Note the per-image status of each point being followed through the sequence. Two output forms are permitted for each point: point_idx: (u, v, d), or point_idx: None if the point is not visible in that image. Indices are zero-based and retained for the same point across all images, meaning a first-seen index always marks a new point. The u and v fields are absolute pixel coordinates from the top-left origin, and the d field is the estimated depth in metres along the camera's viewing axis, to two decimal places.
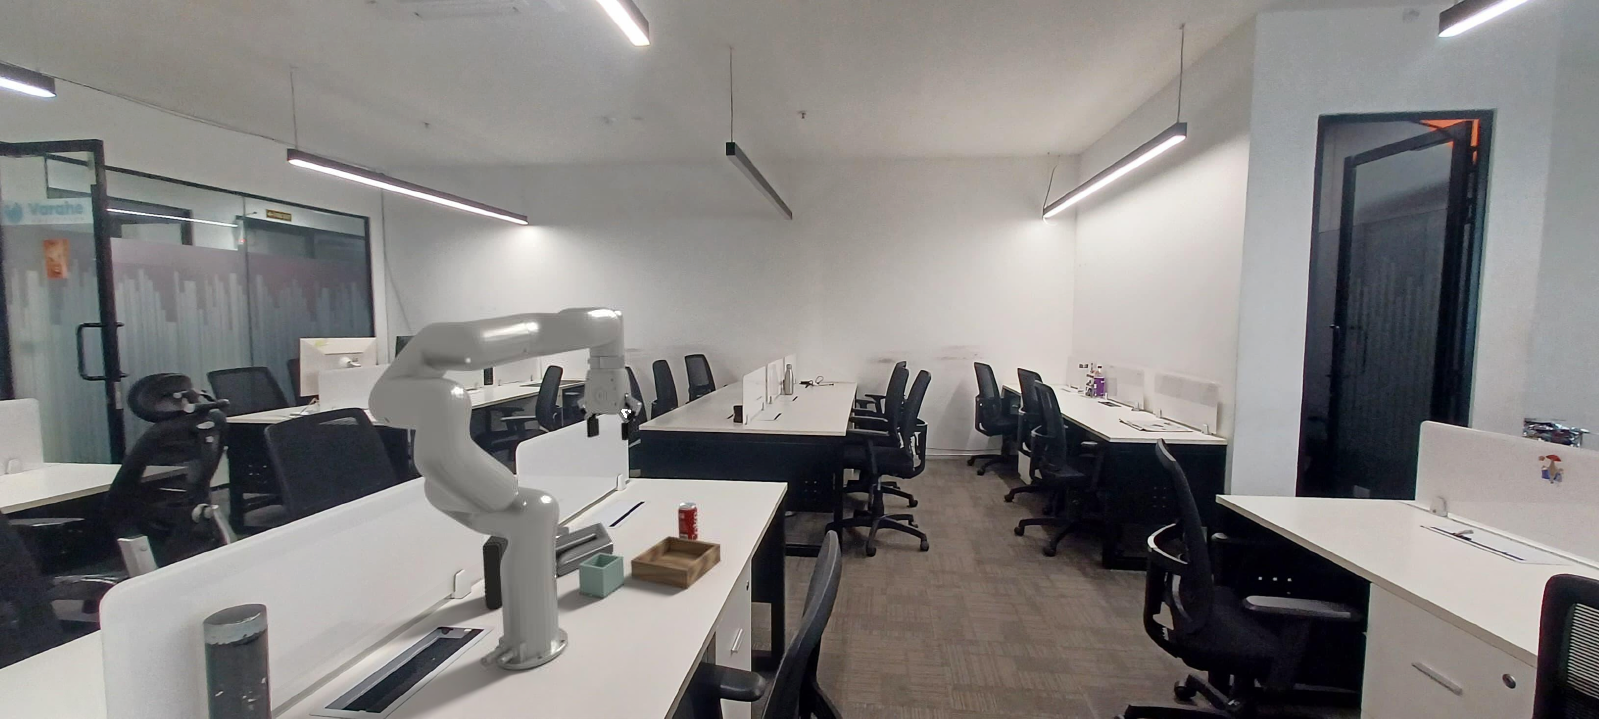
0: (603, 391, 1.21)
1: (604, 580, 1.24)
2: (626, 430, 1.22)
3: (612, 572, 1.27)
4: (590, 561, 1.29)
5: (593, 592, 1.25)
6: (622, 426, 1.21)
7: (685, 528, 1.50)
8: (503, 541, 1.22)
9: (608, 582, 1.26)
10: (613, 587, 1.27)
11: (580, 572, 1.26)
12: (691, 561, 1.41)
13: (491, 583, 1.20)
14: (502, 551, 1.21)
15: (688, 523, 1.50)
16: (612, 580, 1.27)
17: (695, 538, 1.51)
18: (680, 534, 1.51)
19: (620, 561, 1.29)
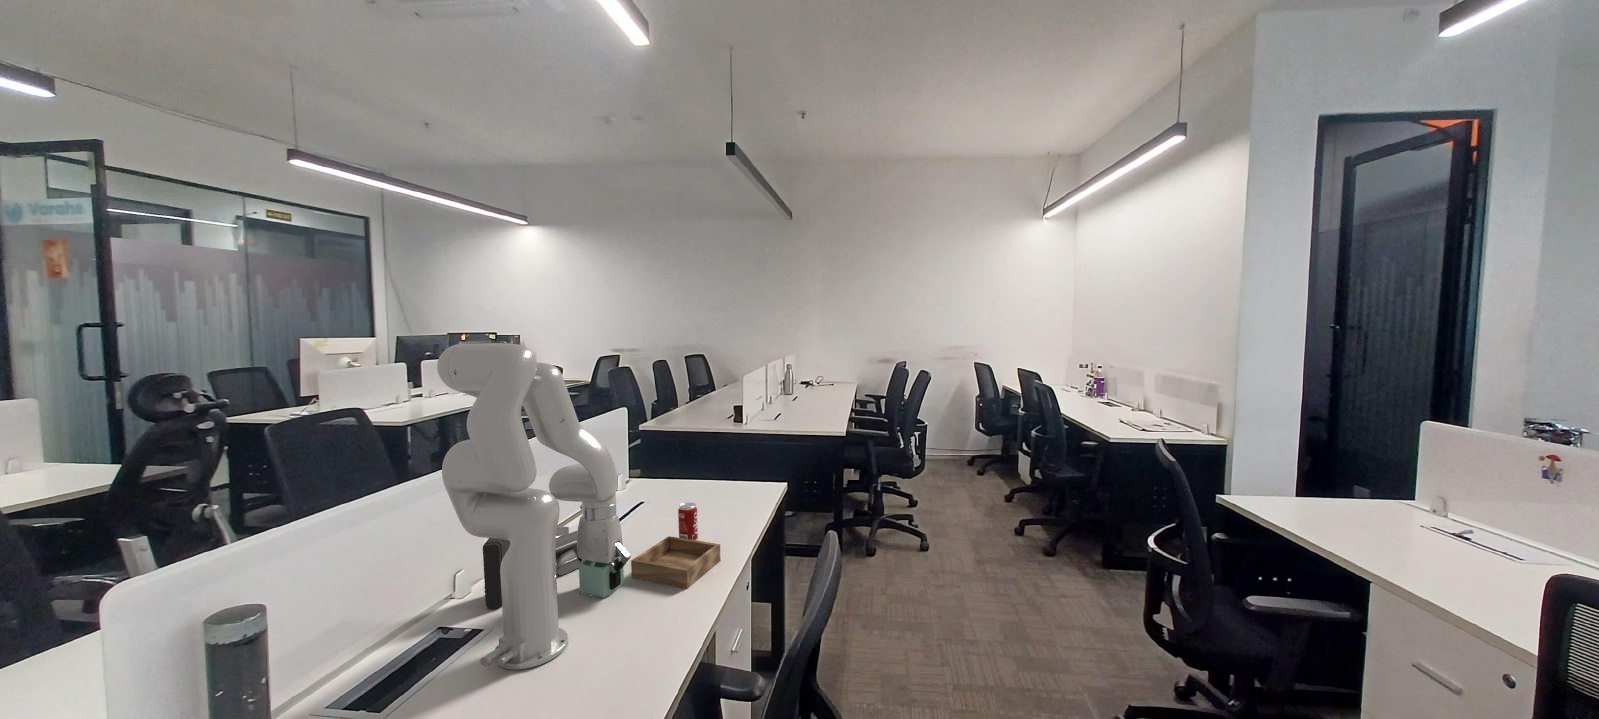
0: (595, 540, 1.25)
1: (604, 580, 1.24)
2: (614, 580, 1.26)
3: None
4: (590, 561, 1.29)
5: (593, 592, 1.25)
6: (610, 576, 1.26)
7: (685, 528, 1.50)
8: (503, 541, 1.22)
9: (608, 582, 1.26)
10: None
11: (580, 572, 1.26)
12: (691, 561, 1.41)
13: (491, 583, 1.20)
14: (502, 551, 1.21)
15: (688, 523, 1.50)
16: None
17: (695, 538, 1.51)
18: (680, 534, 1.51)
19: None
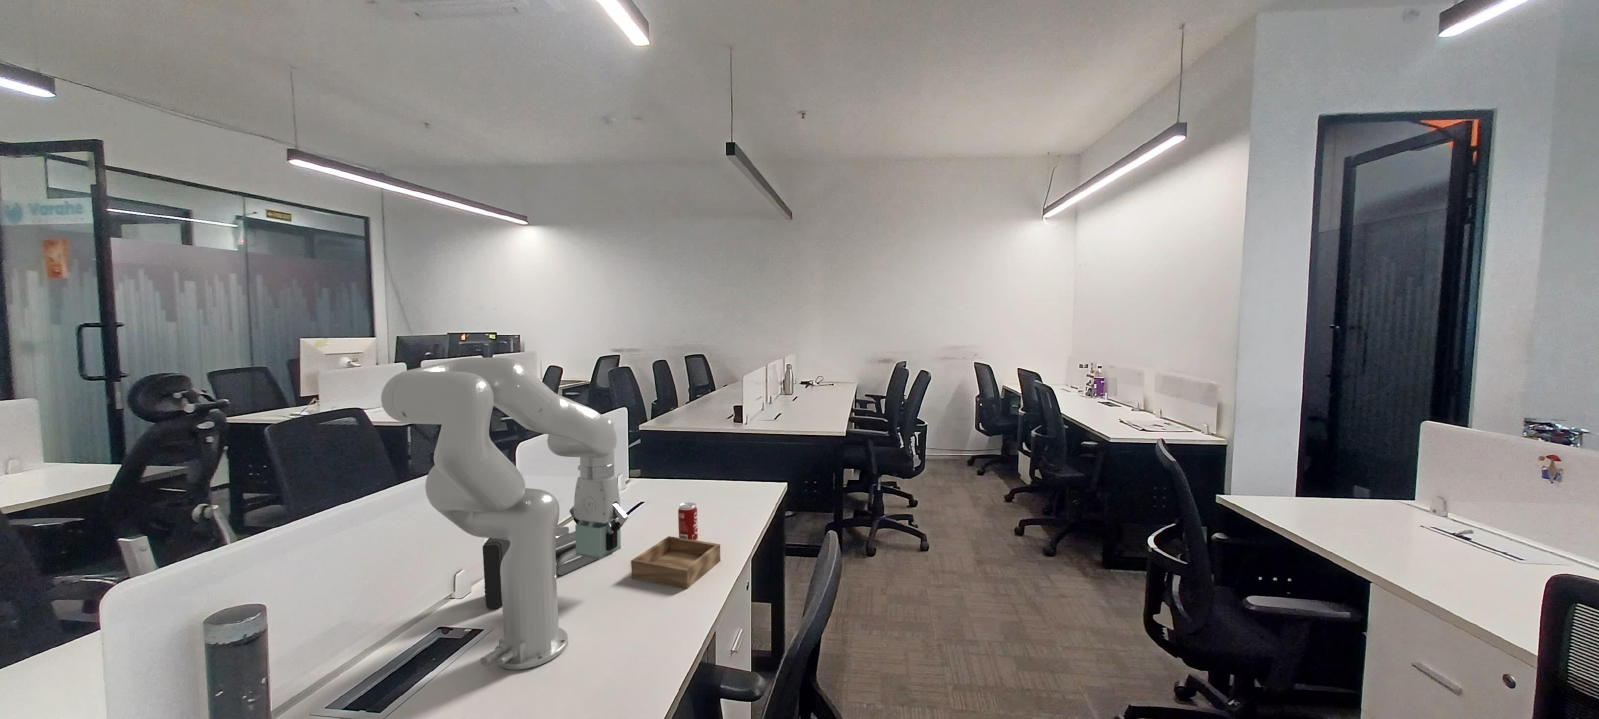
0: (592, 500, 1.24)
1: (601, 540, 1.23)
2: (611, 541, 1.25)
3: None
4: (587, 523, 1.28)
5: (589, 553, 1.24)
6: (607, 537, 1.24)
7: (685, 528, 1.50)
8: (503, 541, 1.22)
9: (605, 543, 1.24)
10: None
11: (576, 533, 1.25)
12: (691, 561, 1.41)
13: (491, 583, 1.20)
14: (502, 551, 1.21)
15: (688, 523, 1.50)
16: None
17: (695, 538, 1.51)
18: (680, 534, 1.51)
19: None
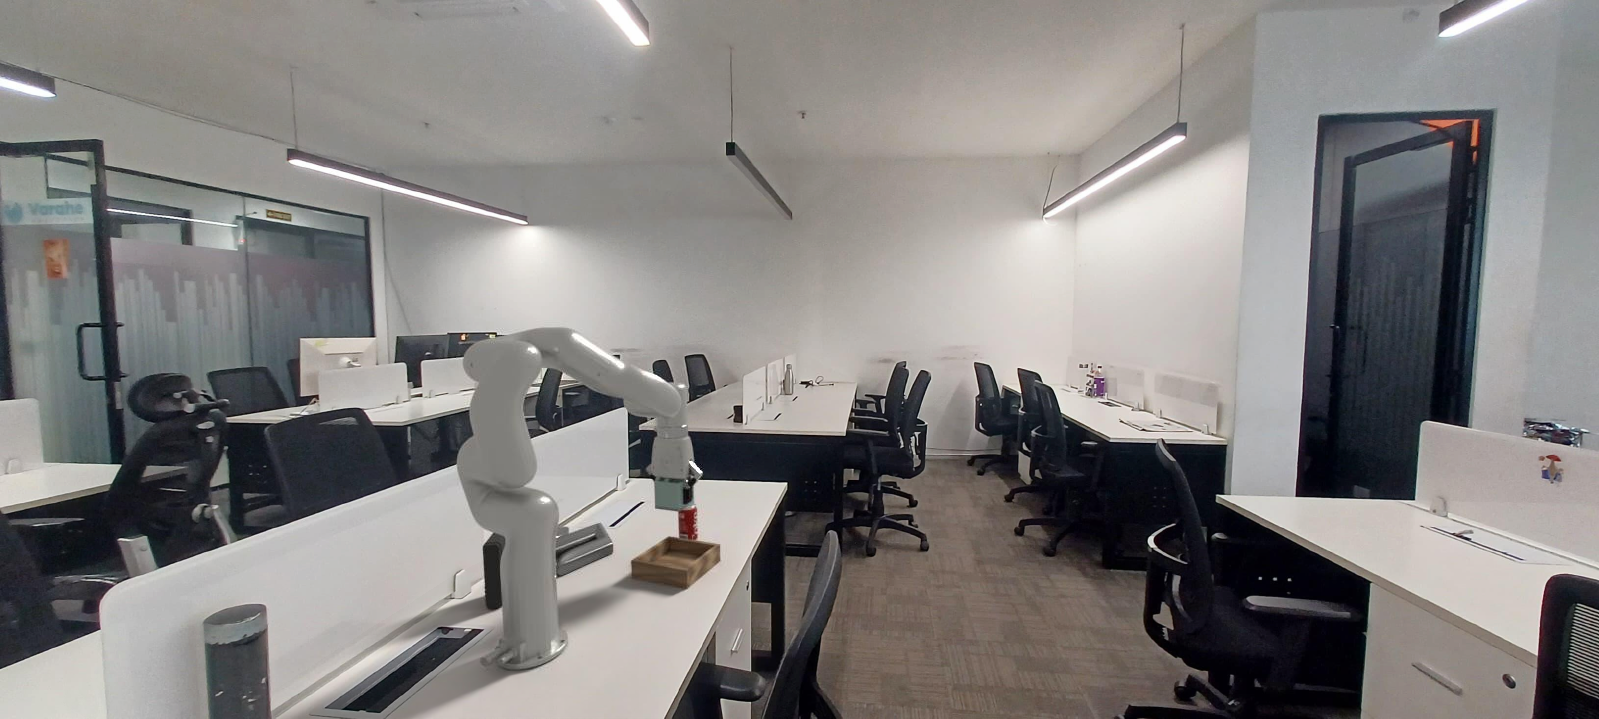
0: (670, 458, 1.34)
1: (679, 494, 1.33)
2: (687, 495, 1.35)
3: None
4: (663, 479, 1.38)
5: (668, 506, 1.34)
6: (684, 492, 1.34)
7: (685, 528, 1.50)
8: (503, 541, 1.22)
9: (682, 497, 1.34)
10: None
11: (655, 488, 1.35)
12: (691, 561, 1.41)
13: (491, 583, 1.20)
14: (502, 551, 1.21)
15: (688, 523, 1.50)
16: None
17: (695, 538, 1.51)
18: (680, 534, 1.51)
19: None
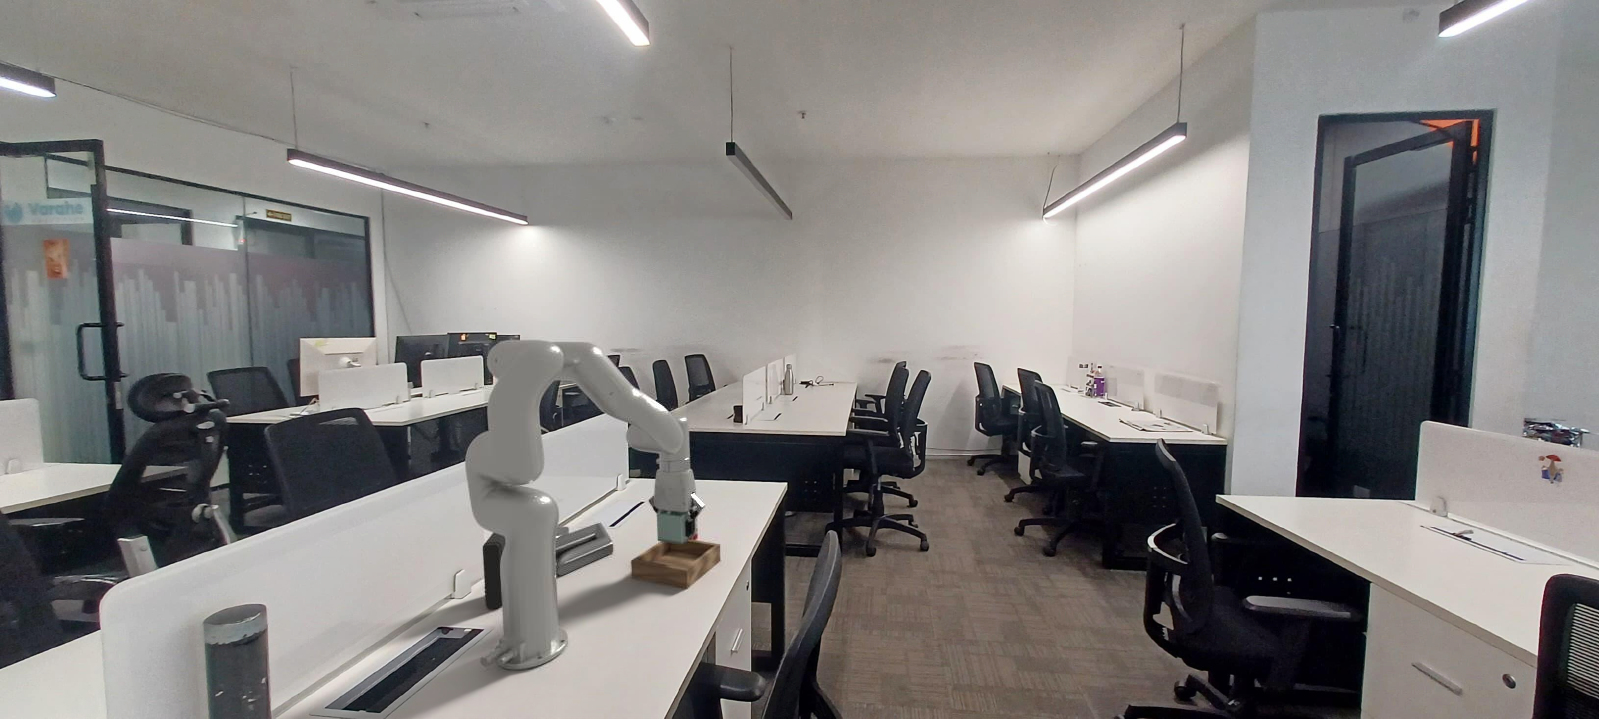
0: (672, 491, 1.34)
1: (681, 527, 1.34)
2: (690, 528, 1.36)
3: None
4: (666, 511, 1.39)
5: (671, 539, 1.35)
6: (686, 524, 1.35)
7: None
8: (503, 541, 1.22)
9: (684, 530, 1.35)
10: None
11: (658, 521, 1.36)
12: (691, 561, 1.41)
13: (491, 583, 1.20)
14: (502, 551, 1.21)
15: None
16: None
17: (695, 538, 1.51)
18: None
19: None
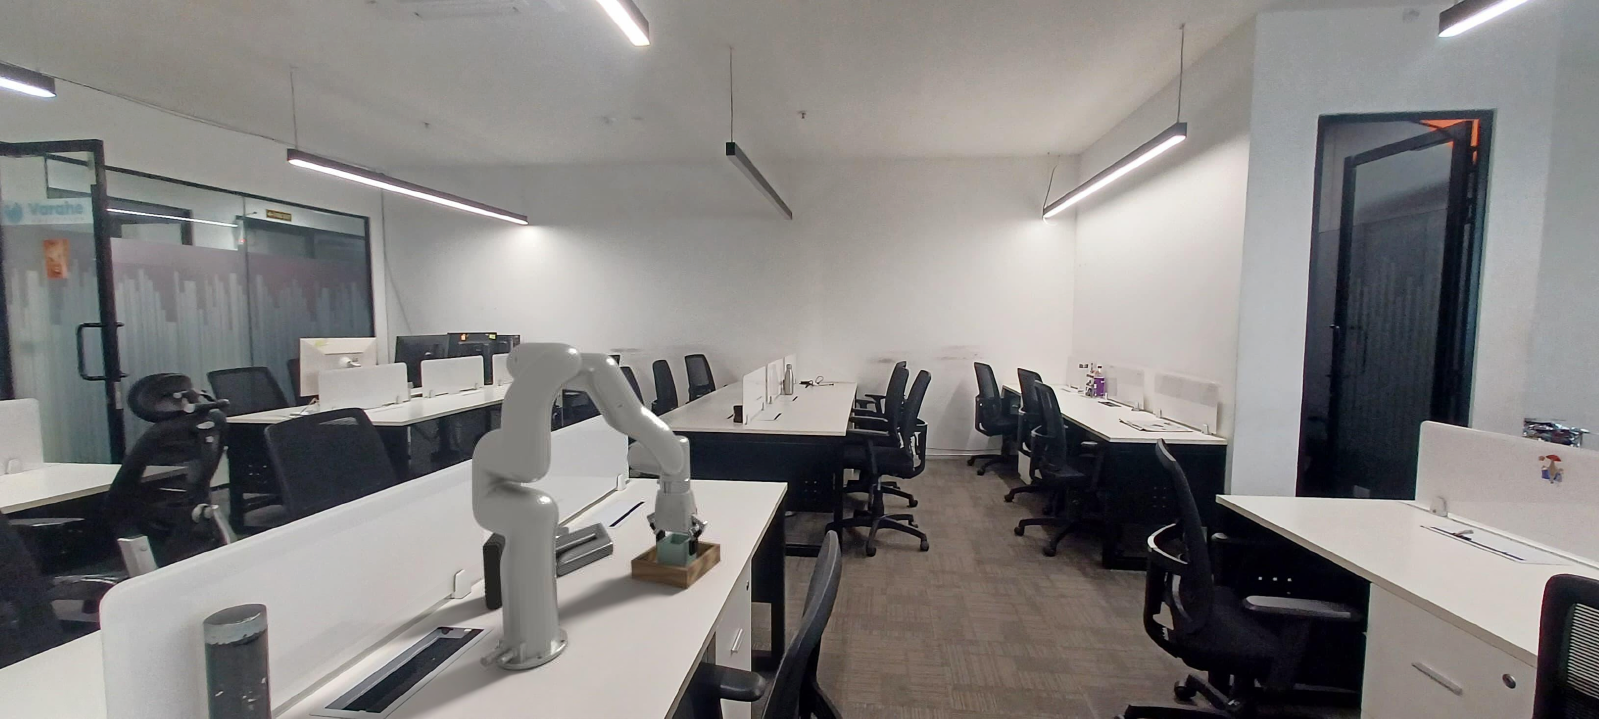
0: (672, 512, 1.35)
1: (681, 556, 1.34)
2: (693, 547, 1.36)
3: (687, 550, 1.37)
4: (666, 539, 1.39)
5: None
6: (689, 543, 1.35)
7: None
8: (503, 541, 1.22)
9: (684, 558, 1.36)
10: (688, 563, 1.37)
11: (658, 549, 1.36)
12: None
13: (491, 583, 1.20)
14: (502, 551, 1.21)
15: None
16: (687, 557, 1.37)
17: None
18: None
19: None
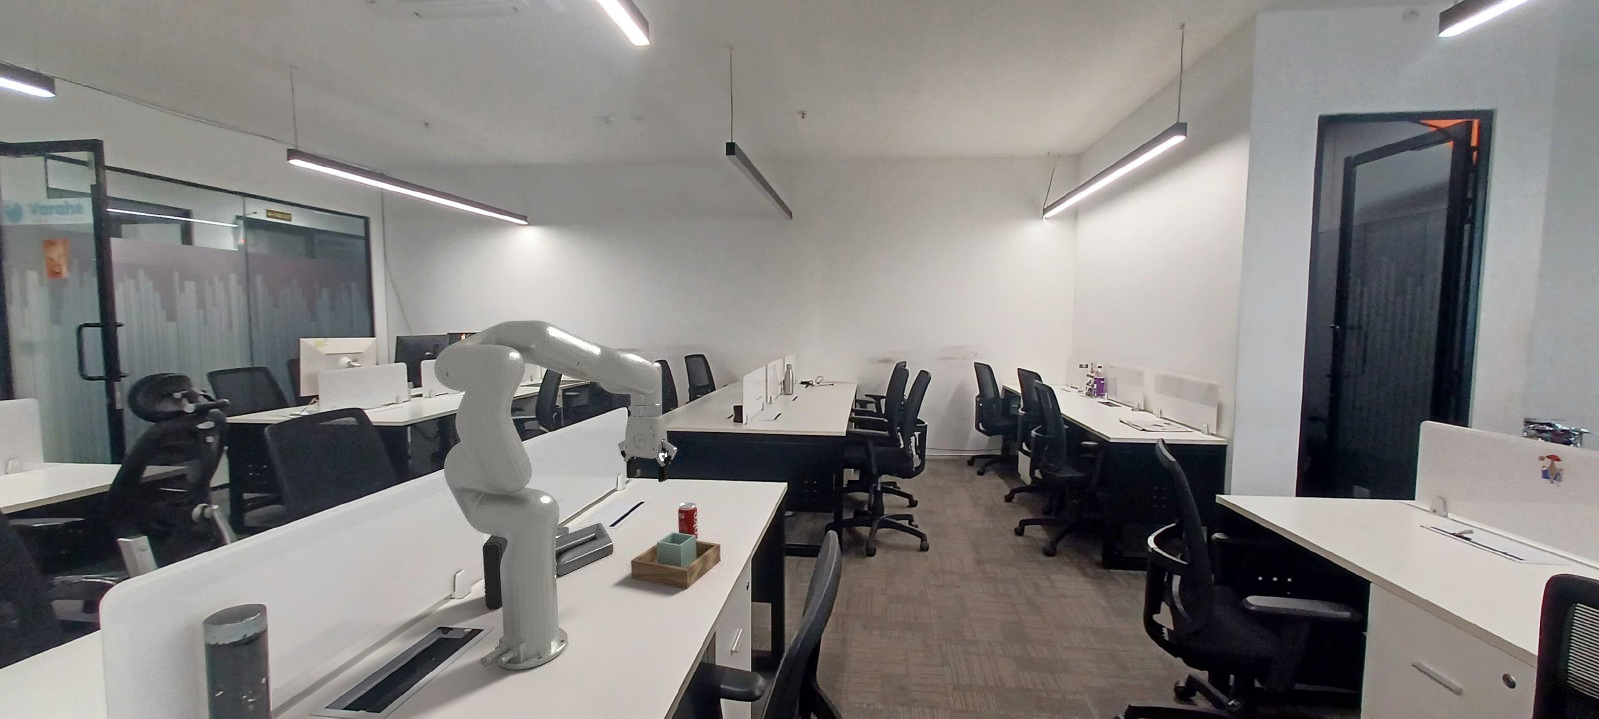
0: (642, 437, 1.33)
1: (681, 556, 1.34)
2: (662, 473, 1.33)
3: (687, 550, 1.37)
4: (666, 539, 1.39)
5: None
6: (659, 469, 1.33)
7: (685, 528, 1.50)
8: (503, 541, 1.22)
9: (684, 558, 1.36)
10: (688, 563, 1.37)
11: (658, 549, 1.36)
12: None
13: (491, 583, 1.20)
14: (502, 551, 1.21)
15: (688, 523, 1.50)
16: (687, 557, 1.37)
17: None
18: None
19: (693, 539, 1.39)
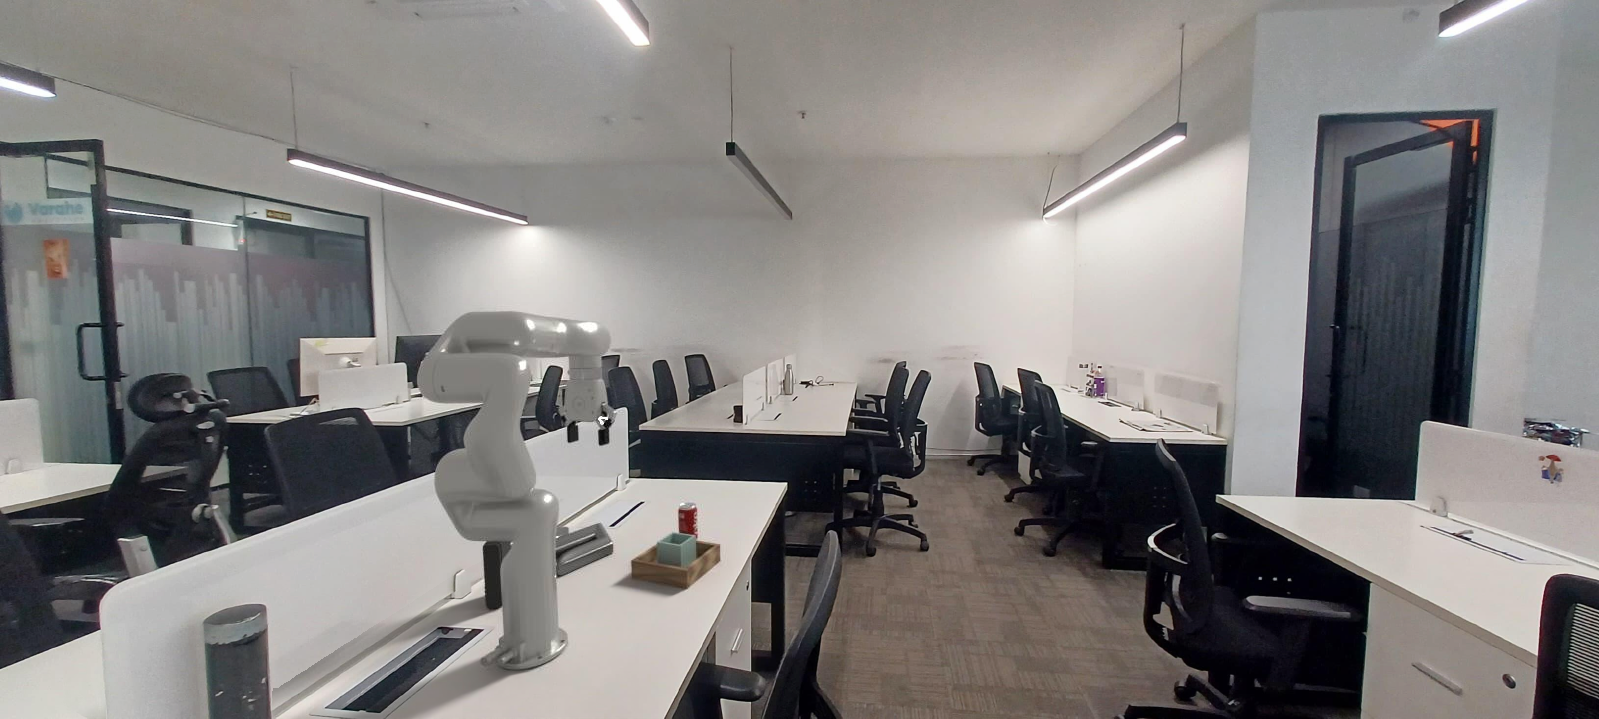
0: (581, 400, 1.31)
1: (681, 556, 1.34)
2: (603, 437, 1.32)
3: (687, 550, 1.37)
4: (666, 539, 1.39)
5: None
6: (599, 432, 1.31)
7: (685, 528, 1.50)
8: (503, 541, 1.22)
9: (684, 558, 1.36)
10: (688, 563, 1.37)
11: (658, 549, 1.36)
12: None
13: (491, 583, 1.20)
14: (502, 551, 1.21)
15: (688, 523, 1.50)
16: (687, 557, 1.37)
17: None
18: None
19: (693, 539, 1.39)
